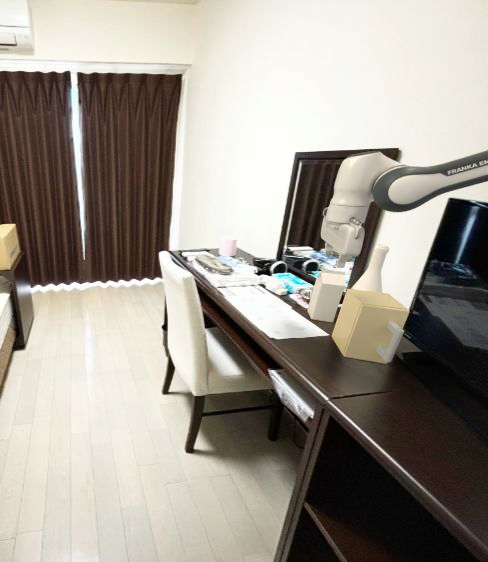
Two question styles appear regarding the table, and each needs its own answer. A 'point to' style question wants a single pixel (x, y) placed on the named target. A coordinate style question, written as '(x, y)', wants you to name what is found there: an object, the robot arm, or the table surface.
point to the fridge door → (376, 333)
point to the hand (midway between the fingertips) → (333, 261)
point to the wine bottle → (373, 272)
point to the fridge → (351, 311)
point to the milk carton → (326, 295)
